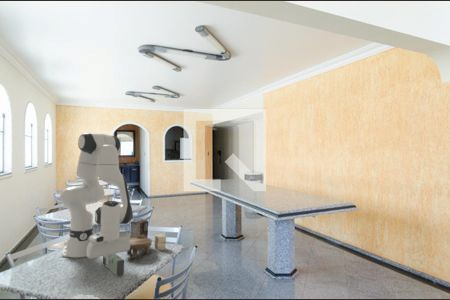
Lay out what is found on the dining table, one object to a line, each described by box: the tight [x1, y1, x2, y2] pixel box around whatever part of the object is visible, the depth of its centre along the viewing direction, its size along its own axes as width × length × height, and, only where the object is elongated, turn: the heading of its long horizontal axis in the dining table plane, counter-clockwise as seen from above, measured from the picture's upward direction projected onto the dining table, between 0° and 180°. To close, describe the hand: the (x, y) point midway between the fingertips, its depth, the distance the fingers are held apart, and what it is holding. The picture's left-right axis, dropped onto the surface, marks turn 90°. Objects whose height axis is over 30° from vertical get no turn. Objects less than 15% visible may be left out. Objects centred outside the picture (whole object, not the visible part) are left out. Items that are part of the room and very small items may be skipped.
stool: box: [126, 237, 153, 261], centre depth 160 cm, size 16×16×8 cm
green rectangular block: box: [102, 253, 125, 277], centre depth 140 cm, size 20×4×8 cm, turn 42°
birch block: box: [154, 234, 167, 252], centre depth 173 cm, size 5×5×8 cm
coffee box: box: [129, 218, 149, 238], centre depth 175 cm, size 9×6×16 cm
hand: (108, 263), depth 136 cm, fingers closed
